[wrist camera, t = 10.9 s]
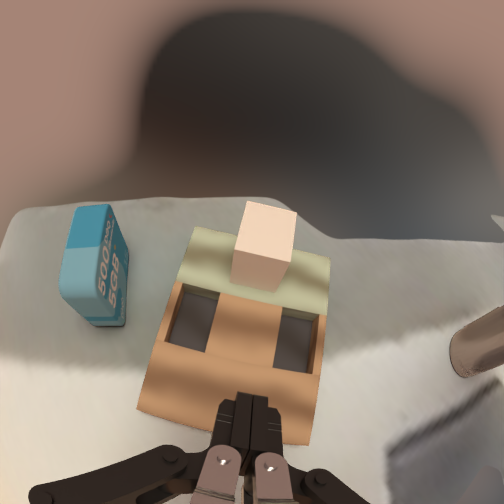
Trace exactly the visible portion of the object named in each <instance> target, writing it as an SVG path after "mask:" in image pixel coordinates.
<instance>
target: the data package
mask: <svg viewBox="0 0 504 504" xmlns="http://www.w3.org/2000/svg"><path fill="white" fill-rule="evenodd" d="M128 260H129V255H128V248H127V246H126V243H125V241H124V238H123V236H122V233H121V231H120V228H119V226H118V223H117V221H116V218H115V215H114V213H113V210H112V207H111V206H110V205H109V204H102V205H92V206H83V207H77V208H76V209H75V211H74V214H73V218H72V221H71V225H70V229H69V233H68V237H67V241H66V246H65V250H64V255H63V260H62V265H61V270H60V276H59V291H60V294H61V296H62V298H63V299H64V300H65V301H66V302H67V303H68V304H69V305H70V306H71V307H72V308H73V309H75V310H76V311H77V312H78V313H79V314H80V315H81V316H82V317H84V318H85V319H86V320H87V321H88V322H89V323H91V324H92V325H93V326H122V325H123V324H124V323H125V312H126V288H127V273H128Z"/></svg>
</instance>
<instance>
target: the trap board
mask: <svg viewBox="0 0 504 504" xmlns="http://www.w3.org/2000/svg"><path fill="white" fill-rule="evenodd" d="M237 237H238V236H236V235H232V234H228V233H223V232H219V231H215V230H210V229H206V228H202V227H197V226H195V229H194V232H193V234H192V237H191V239H190V242H189V245H188V247H187V250H186V253H185V256H184V258H183V261H182V264H181V266H180V269H179V272H178V275H177V278H176V281H175V283H174V286H173V289H172V292H171V295H170V298H169V301H168V304H167V307H166V310H165V313H164V316H163V319H162V322H161V325H160V328H159V332H158V335H157V338H156V341H155V344H154V348H153V351H152V354H151V358H150V361H149V365H148V368H147V372H146V375H145V379H144V382H143V386H142V389H141V393H140V397H139V401H138V405H137V408H136V409H137V410H140V411H142V412H145V413H148V414H151V415H154V416H157V417H160V418H163V419H167V420H170V421H173V422H177V423H180V424H184V425H188V426H191V427H195V428H199V429H203V430H207V431H212V432H213V428H214V423H215V419H216V415H217V411H218V407H219V404H220V403H221V402H222V401H223V400H224V399H229V400H233V401H235V397H236V394H237V391H239V392H244V393H249V394H252V395H253V394H255V395H260V396H266V397H268V407H272V408H277V410H278V412H279V413H280V415H281V426H282V443H284V444H294V445H306V446H309V441H310V436H311V431H312V425H313V419H314V413H315V407H316V401H317V394H318V387H319V380H320V373H321V365H322V357H323V348H324V338H325V328H326V317H327V305H328V292H329V276H330V258H328V257H324V256H320V255H316V254H312V253H307V252H303V251H299V250H295V249H292V255H291V262H290V264H289V266H288V268H287V270H286V272H285V274H284V276H283V278H282V280H281V282H280V284H279V286H278V288H277V290H276V292H275V293H273V292H268V291H264V290H259V289H255V288H250V287H246V286H242V285H237V284H233V283H229V282H230V275H231V268H232V261H233V254H234V248H235V245H236V241H237Z"/></svg>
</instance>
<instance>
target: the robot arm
mask: <svg viewBox="0 0 504 504" xmlns="http://www.w3.org/2000/svg"><path fill="white" fill-rule="evenodd" d="M450 356H451V361H452V365H453V367H454V369H455V371H456V372H457V373H458V374H459V375H460V376H462V377H470V376H473V375H476V374H479V373H481V372H484V371H487V370H490V369H492V368H495V367H497V366H500V365H502V364H504V305H503V306H501V307H497V308H496V309H494V310H492V311H491V312H489V313H487V314H486V315H484V316H482V317H481V318H479V319H477V320H475V321H474V322H472V323H470V324H468V325H466V326H465V327H464V328H463V329H461V330H459V331H458V332H456V333H455V335H454V336H453V338H452V341H451V346H450ZM238 475H239V476H244V484H243V486H242V488H241V504H370V503H368V502H367V501H366V500H364V499H363V498H362V497H360V496H359V495H358V494H357V493H355V492H354V491H353V490H351V489H350V488H349V487H348V486H346V485H345V484H344V483H343V482H342V481H340V480H339V479H338V478H337V477H335V476H334V475H333V474H332V473H331V472H329V471H327V470H325V469H313V470H311V471H309V472H305V471H302V470H299V469H296V468H294V467H292V466H290V465H289V464H288V463H287V461H286V460H285V459H284V457H283V444H282V426H281V415H280V413H279V412H278V410H277V408H272V407H268V397H266V396H260V395H255V394H253V395H252V394H249V393H244V392H239V391H237V394H236V397H235V401H233V400H229V399H224V400H223V401H222V402H221V403H220V404H219V407H218V411H217V415H216V419H215V423H214V428H213V432H212V437H211V442H210V446H209V447H208V448H207V449H206V450H204V451H202V452H199V453H185V452H184V451H183V450H182V449H180V448H179V447H177V446H173V445H161V446H159V447H156V448H154V449H152V450H149V451H147V452H144V453H142V454H139V455H137V456H134V457H132V458H129V459H126V460H124V461H121V462H118V463H115V464H113V465H110V466H107V467H104V468H101V469H98V470H94V471H91V472H88V473H85V474H81V475H78V476H74V477H70V478H66V479H62V480H58V481H54V482H50V483H45V484H40V485H36V486H34V487H33V488H31V490H30V491H29V494H28V498H29V502H30V504H163V503H165V502H167V501H169V500H171V499H173V498H175V497H176V496H178V495H180V494H192V493H193V496H192V498H191V501H190V504H234V501H235V498H234V494H235V489H236V484H237V480H238Z"/></svg>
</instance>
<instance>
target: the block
mask: <svg viewBox="0 0 504 504" xmlns="http://www.w3.org/2000/svg"><path fill="white" fill-rule="evenodd" d="M296 215H297V212H293V211H289V210H284V209H280V208H276V207H272V206H268V205H264V204H259V203H255V202H251V201H247V204H246V208H245V211H244V215H243V219H242V222H241V226H240V230H239V233H238V237H237V241H236V245H235V248H234V254H233V261H232V268H231V275H230V282H229V283H233V284H237V285H242V286H246V287H250V288H255V289H259V290H264V291H268V292H273V293H275V292H276V290H277V288H278V286H279V284H280V282H281V280H282V278H283V276H284V274H285V272H286V270H287V268H288V266H289V264H290V262H291V255H292V248H293V240H294V231H295V223H296Z"/></svg>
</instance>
